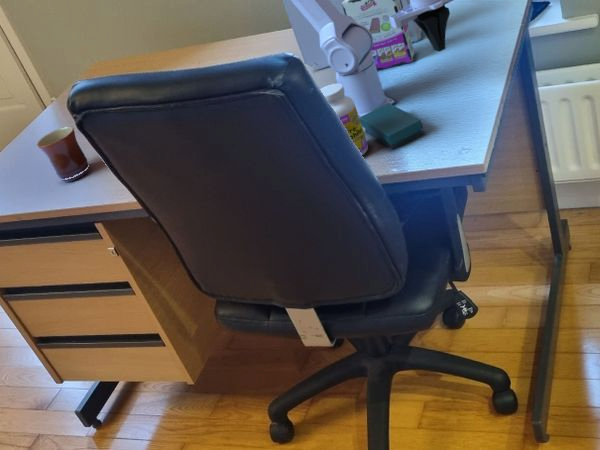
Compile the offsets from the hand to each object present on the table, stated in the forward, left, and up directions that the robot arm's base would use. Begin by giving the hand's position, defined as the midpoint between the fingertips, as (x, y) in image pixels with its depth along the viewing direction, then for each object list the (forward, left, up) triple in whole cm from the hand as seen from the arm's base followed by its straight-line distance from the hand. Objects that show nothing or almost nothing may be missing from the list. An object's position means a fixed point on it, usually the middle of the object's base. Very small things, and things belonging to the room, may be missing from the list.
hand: (439, 49), depth 140 cm
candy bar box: (-28, +1, -10) cm, 30 cm away
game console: (-41, +1, -10) cm, 42 cm away
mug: (-52, -71, -10) cm, 89 cm away
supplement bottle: (+3, -23, -10) cm, 25 cm away
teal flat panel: (+3, -14, -9) cm, 17 cm away
